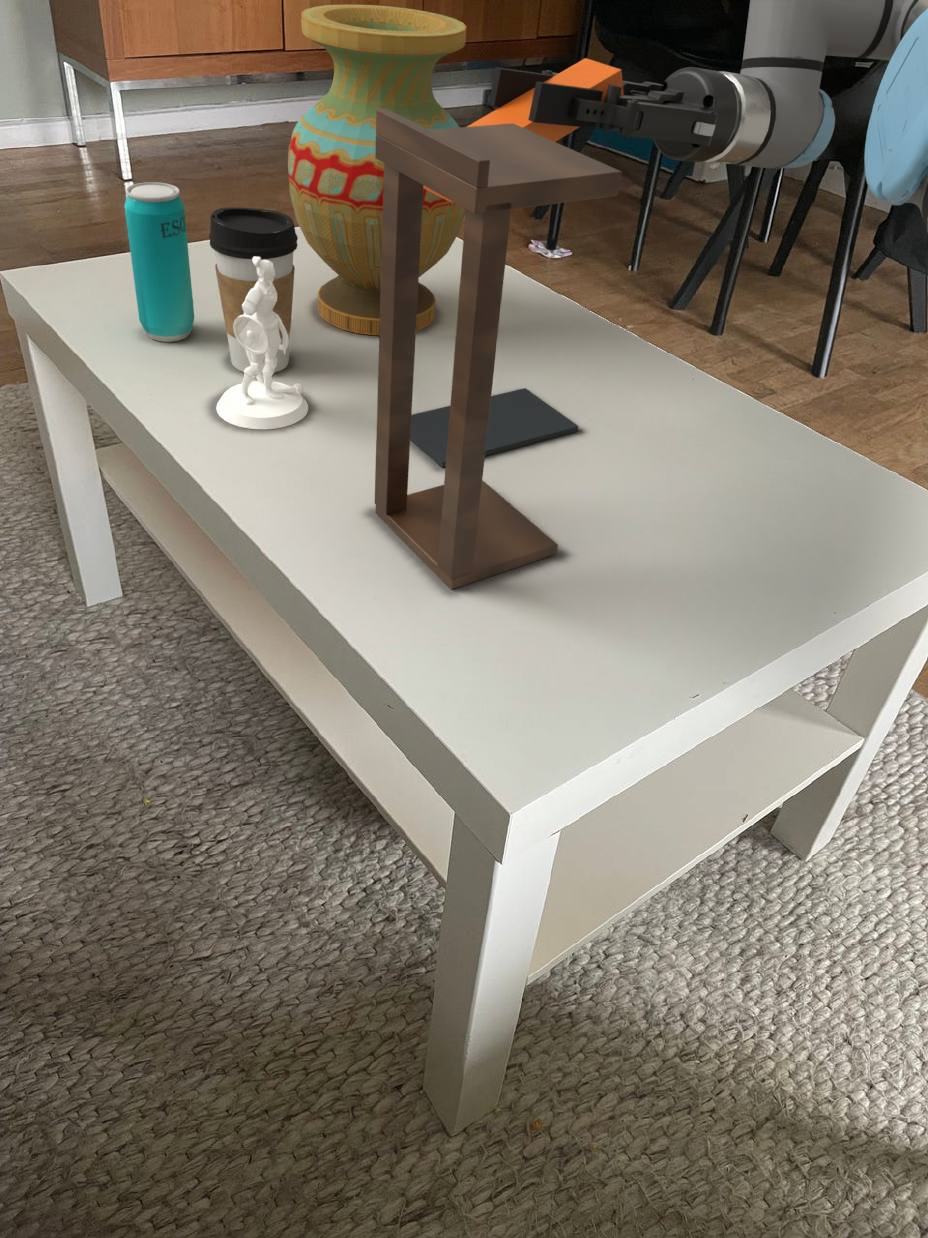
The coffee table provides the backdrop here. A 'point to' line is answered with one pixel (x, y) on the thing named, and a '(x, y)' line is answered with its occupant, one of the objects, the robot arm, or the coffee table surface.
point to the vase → (368, 151)
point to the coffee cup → (252, 267)
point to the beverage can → (160, 260)
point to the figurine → (261, 363)
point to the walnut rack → (459, 328)
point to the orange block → (576, 75)
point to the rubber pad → (494, 425)
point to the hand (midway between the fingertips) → (515, 94)
